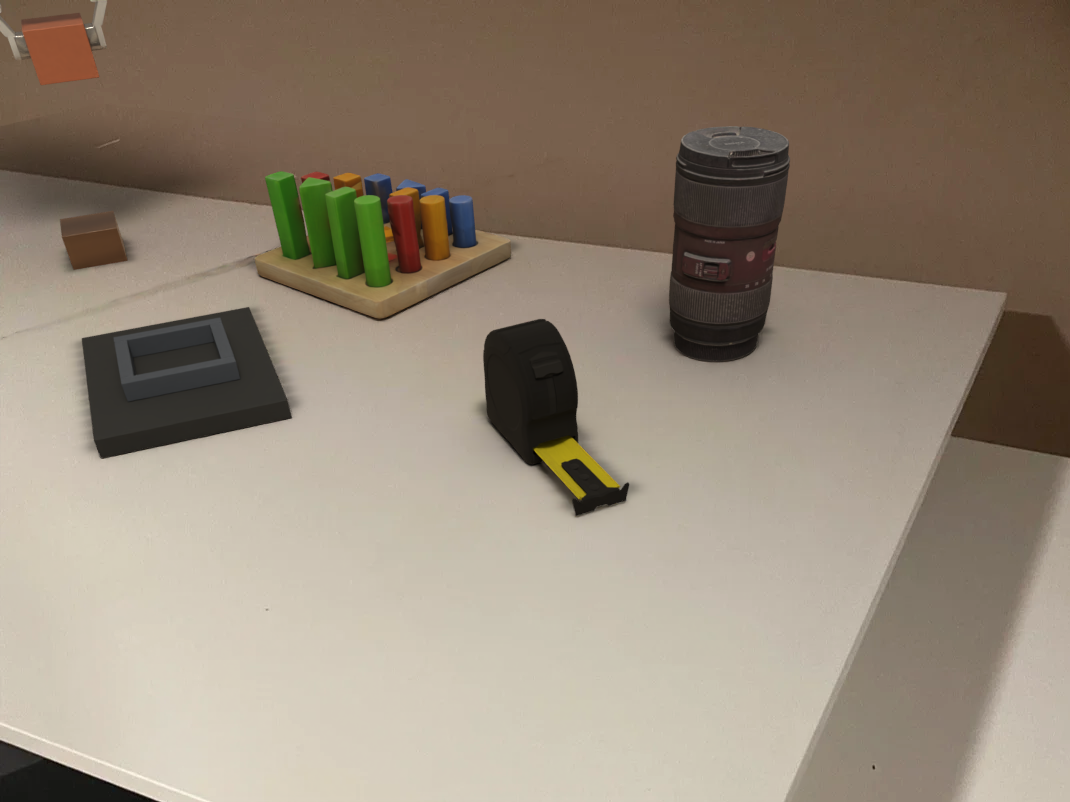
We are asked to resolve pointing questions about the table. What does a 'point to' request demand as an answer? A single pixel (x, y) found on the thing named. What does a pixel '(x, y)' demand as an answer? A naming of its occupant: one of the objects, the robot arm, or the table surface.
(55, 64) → the orange block
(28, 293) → the table surface
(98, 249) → the brown block
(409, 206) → the peg board
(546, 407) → the tape measure
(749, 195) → the camera lens
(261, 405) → the black socket base
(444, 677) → the table surface
